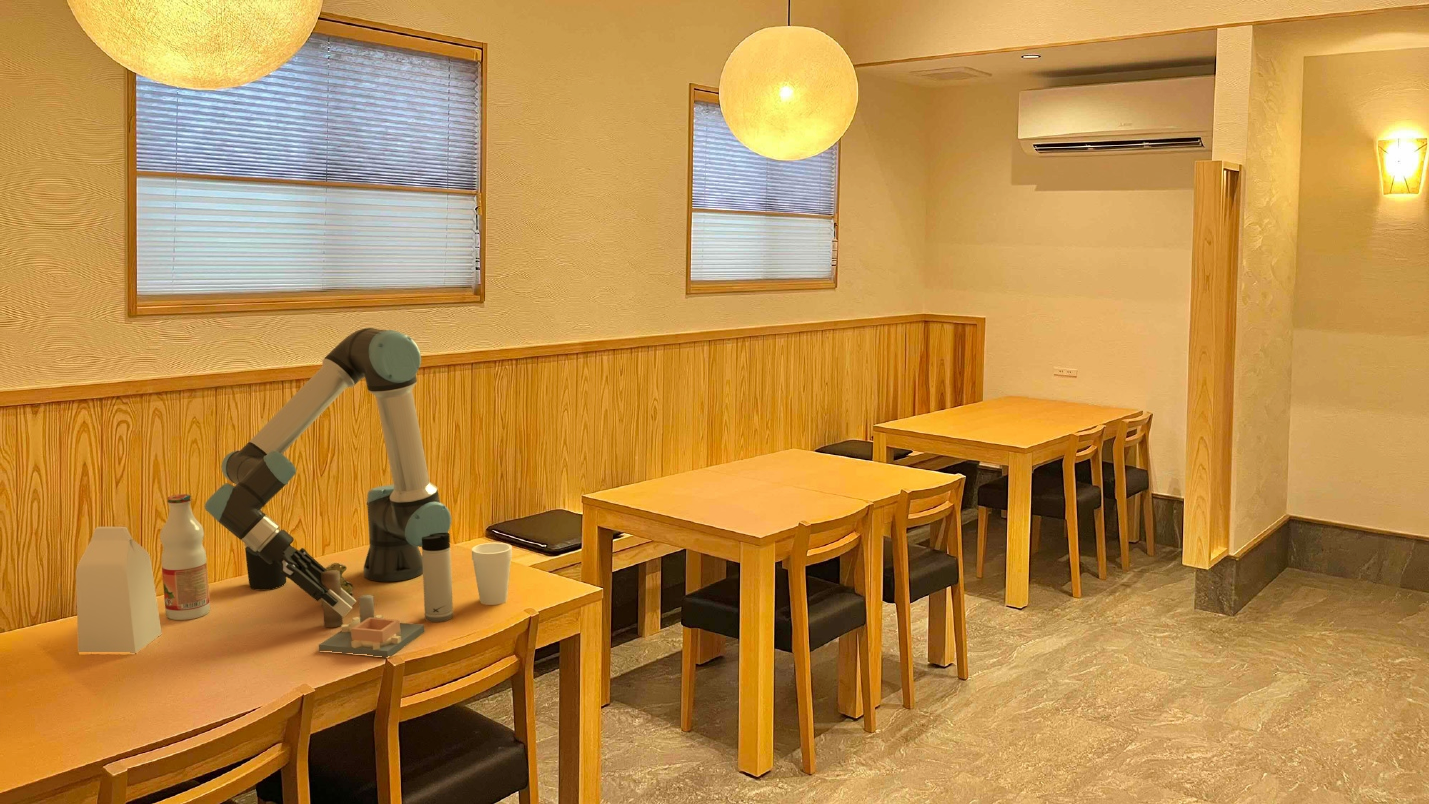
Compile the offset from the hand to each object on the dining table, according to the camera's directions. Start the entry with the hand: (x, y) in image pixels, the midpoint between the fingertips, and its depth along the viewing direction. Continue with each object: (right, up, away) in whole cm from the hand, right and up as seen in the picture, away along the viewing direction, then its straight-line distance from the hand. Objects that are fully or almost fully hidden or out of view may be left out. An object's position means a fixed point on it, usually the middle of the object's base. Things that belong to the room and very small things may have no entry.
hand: (350, 608), depth 256 cm
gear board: (+8, -5, -10) cm, 14 cm away
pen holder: (-30, +1, +29) cm, 41 cm away
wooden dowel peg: (-4, -3, 0) cm, 5 cm away
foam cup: (+29, -1, +17) cm, 34 cm away
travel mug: (+19, -3, +5) cm, 20 cm away
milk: (-46, -6, -11) cm, 47 cm away
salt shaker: (-8, -2, +14) cm, 16 cm away
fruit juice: (-40, -3, +8) cm, 41 cm away
